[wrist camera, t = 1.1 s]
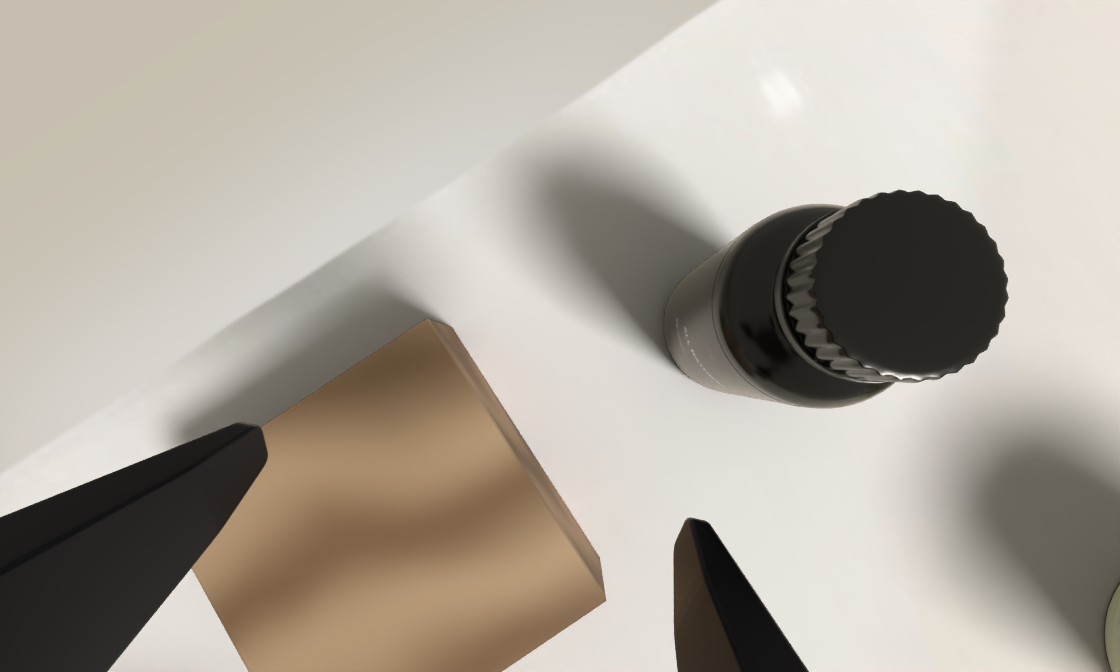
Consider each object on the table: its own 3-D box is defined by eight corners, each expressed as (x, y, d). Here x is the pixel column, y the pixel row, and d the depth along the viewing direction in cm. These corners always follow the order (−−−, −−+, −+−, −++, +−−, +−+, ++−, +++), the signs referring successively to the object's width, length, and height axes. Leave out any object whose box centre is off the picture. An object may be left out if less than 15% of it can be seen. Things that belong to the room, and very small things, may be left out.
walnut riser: (599, 557, 21) (606, 600, 17) (365, 716, 21) (317, 796, 17) (452, 327, 23) (426, 318, 19) (227, 474, 22) (152, 497, 18)
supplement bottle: (640, 363, 22) (722, 356, 10) (688, 244, 23) (820, 103, 11) (766, 414, 22) (1004, 469, 10) (812, 292, 22) (1093, 202, 10)
